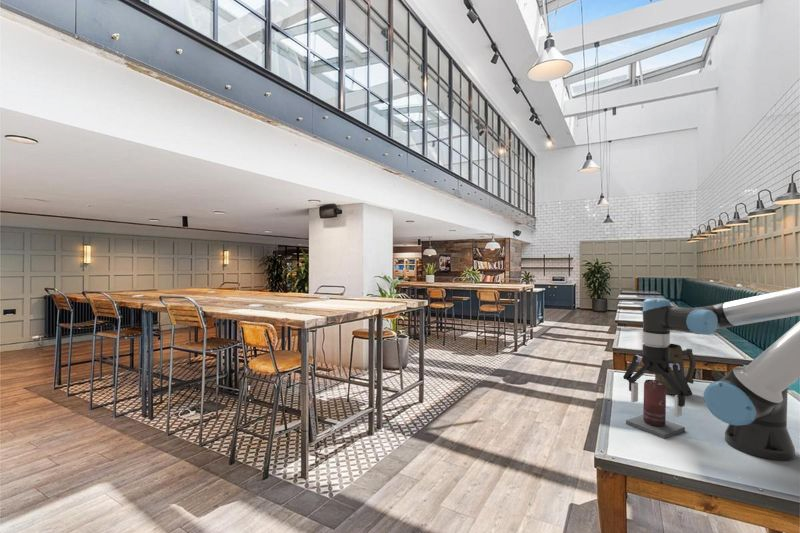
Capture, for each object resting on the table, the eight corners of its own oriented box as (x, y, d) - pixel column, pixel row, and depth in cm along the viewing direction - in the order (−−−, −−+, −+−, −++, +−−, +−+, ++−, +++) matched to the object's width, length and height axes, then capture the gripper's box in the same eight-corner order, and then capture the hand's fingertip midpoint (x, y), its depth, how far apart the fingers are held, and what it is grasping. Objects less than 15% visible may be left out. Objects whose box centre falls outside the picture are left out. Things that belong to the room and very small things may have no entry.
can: (658, 419, 128) (658, 379, 128) (669, 427, 122) (670, 385, 121) (639, 418, 129) (640, 378, 128) (649, 426, 122) (650, 384, 122)
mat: (684, 430, 122) (684, 427, 122) (664, 438, 117) (664, 434, 117) (646, 417, 133) (646, 413, 133) (625, 423, 127) (626, 420, 127)
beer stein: (663, 395, 154) (664, 347, 154) (647, 386, 165) (647, 341, 165) (701, 396, 154) (702, 348, 153) (683, 387, 164) (683, 342, 164)
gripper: (706, 351, 115) (705, 420, 115) (625, 337, 137) (624, 394, 137) (693, 354, 112) (692, 424, 112) (612, 339, 134) (612, 397, 134)
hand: (655, 408), depth 125 cm, fingers open, 13 cm apart
